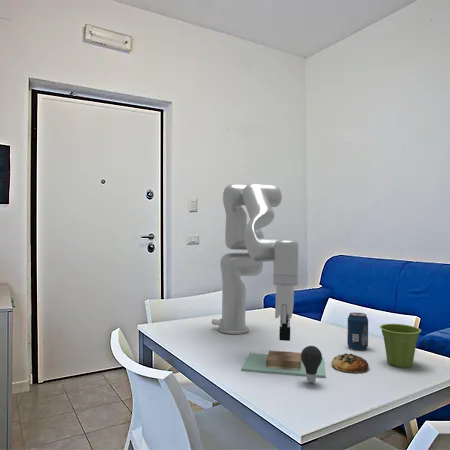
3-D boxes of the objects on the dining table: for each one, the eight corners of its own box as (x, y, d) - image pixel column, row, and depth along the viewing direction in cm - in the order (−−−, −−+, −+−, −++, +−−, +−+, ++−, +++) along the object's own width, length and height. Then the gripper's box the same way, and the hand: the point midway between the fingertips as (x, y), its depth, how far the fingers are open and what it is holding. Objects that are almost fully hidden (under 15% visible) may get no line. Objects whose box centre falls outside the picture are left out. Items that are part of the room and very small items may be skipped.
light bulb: (298, 379, 114) (298, 343, 114) (318, 379, 114) (318, 343, 114) (303, 387, 108) (304, 349, 108) (324, 386, 108) (325, 348, 109)
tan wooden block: (269, 358, 130) (266, 367, 121) (269, 350, 130) (266, 359, 121) (301, 360, 128) (300, 370, 119) (301, 352, 128) (300, 361, 119)
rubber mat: (241, 370, 120) (241, 368, 120) (249, 354, 136) (249, 352, 136) (325, 377, 115) (325, 375, 115) (324, 360, 131) (324, 358, 131)
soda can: (350, 344, 150) (350, 311, 150) (369, 347, 146) (370, 313, 146) (345, 348, 144) (345, 314, 144) (365, 352, 140) (365, 317, 140)
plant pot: (371, 360, 131) (371, 325, 132) (400, 356, 136) (400, 322, 136) (399, 372, 120) (399, 334, 120) (429, 368, 125) (430, 331, 125)
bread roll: (377, 369, 123) (375, 353, 122) (351, 381, 117) (348, 363, 117) (348, 360, 132) (347, 345, 132) (323, 371, 127) (321, 354, 127)
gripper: (275, 276, 134) (274, 333, 134) (271, 282, 120) (270, 345, 119) (298, 277, 133) (298, 334, 133) (297, 283, 118) (296, 347, 118)
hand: (284, 339), depth 126 cm, fingers closed
